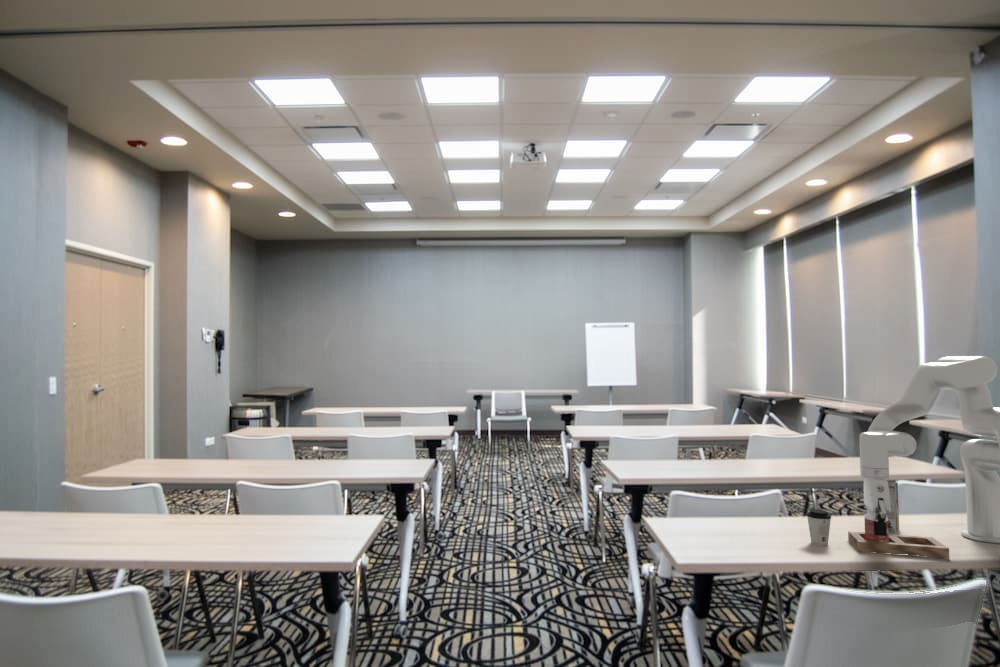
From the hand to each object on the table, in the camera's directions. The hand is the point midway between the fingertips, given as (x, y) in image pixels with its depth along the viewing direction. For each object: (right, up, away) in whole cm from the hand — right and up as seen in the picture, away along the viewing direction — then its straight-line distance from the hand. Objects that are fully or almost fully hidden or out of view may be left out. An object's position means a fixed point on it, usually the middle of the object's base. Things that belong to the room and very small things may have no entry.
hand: (876, 531), depth 184 cm
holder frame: (+5, -5, -2) cm, 7 cm away
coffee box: (+15, -6, +18) cm, 24 cm away
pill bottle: (0, -4, 0) cm, 4 cm away
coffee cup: (-15, -5, +4) cm, 17 cm away
